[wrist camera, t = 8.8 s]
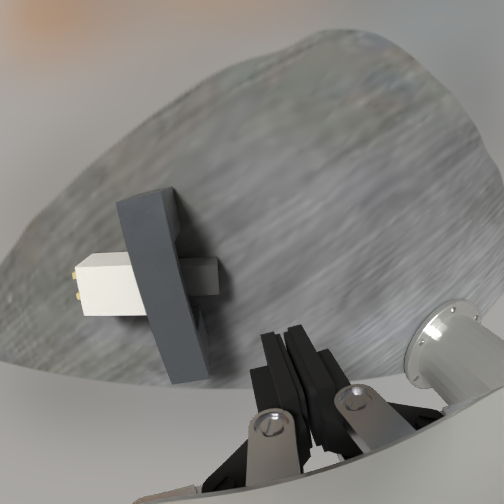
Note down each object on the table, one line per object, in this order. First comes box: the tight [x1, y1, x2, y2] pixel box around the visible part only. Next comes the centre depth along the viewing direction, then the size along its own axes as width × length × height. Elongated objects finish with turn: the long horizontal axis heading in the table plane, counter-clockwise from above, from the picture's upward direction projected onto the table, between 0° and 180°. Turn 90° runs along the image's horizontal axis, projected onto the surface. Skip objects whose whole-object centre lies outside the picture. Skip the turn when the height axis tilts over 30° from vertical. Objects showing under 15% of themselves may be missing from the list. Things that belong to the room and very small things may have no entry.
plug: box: [72, 252, 219, 316], centre depth 24 cm, size 12×4×4 cm, turn 91°
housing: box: [116, 186, 210, 384], centre depth 23 cm, size 3×14×6 cm, turn 10°
